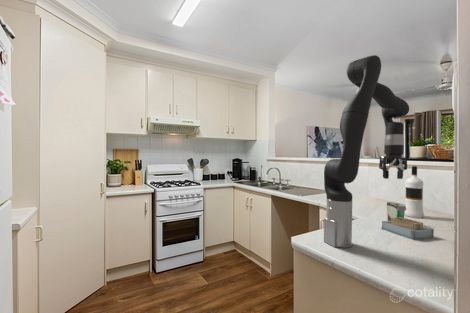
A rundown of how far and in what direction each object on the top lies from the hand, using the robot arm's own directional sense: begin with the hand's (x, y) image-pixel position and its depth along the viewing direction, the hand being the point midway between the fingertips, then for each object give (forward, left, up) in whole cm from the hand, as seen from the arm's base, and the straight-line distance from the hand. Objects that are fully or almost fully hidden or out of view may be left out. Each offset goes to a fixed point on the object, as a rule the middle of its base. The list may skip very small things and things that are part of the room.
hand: (392, 178), depth 106 cm
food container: (+15, +8, -25) cm, 30 cm away
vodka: (+39, +17, -25) cm, 49 cm away
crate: (+3, -5, -25) cm, 25 cm away
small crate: (+3, -5, -24) cm, 24 cm away
